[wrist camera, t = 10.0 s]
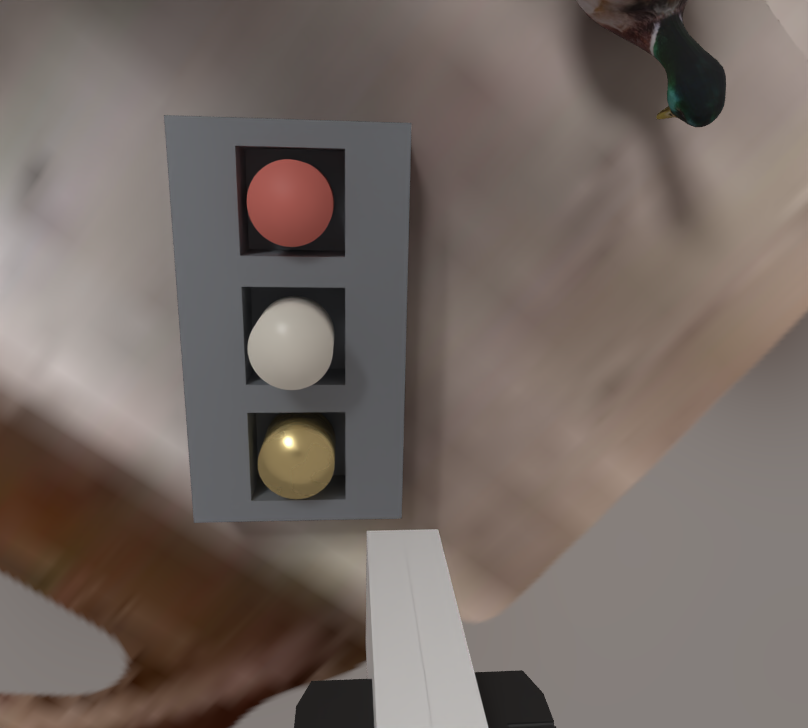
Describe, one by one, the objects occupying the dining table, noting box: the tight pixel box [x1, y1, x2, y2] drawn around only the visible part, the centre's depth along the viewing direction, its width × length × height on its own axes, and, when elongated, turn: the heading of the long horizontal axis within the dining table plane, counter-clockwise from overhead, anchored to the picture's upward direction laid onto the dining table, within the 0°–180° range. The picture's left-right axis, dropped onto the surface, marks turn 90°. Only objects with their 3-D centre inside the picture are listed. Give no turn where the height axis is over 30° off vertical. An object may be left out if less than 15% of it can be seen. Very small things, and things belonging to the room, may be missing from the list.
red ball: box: [247, 159, 334, 247], centre depth 34 cm, size 4×4×4 cm
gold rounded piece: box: [258, 412, 336, 499], centre depth 38 cm, size 4×4×4 cm
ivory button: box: [248, 296, 334, 390], centre depth 34 cm, size 4×4×4 cm
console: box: [164, 115, 411, 523], centre depth 37 cm, size 12×22×4 cm, turn 179°
